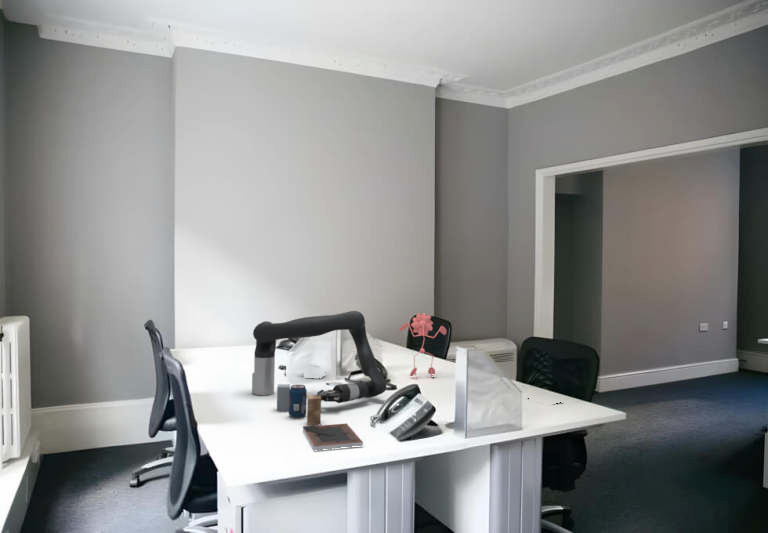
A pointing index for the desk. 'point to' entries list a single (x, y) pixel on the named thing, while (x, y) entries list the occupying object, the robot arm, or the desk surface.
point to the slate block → (283, 397)
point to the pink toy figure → (422, 327)
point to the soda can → (297, 401)
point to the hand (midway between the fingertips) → (311, 398)
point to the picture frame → (331, 436)
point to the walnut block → (314, 410)
